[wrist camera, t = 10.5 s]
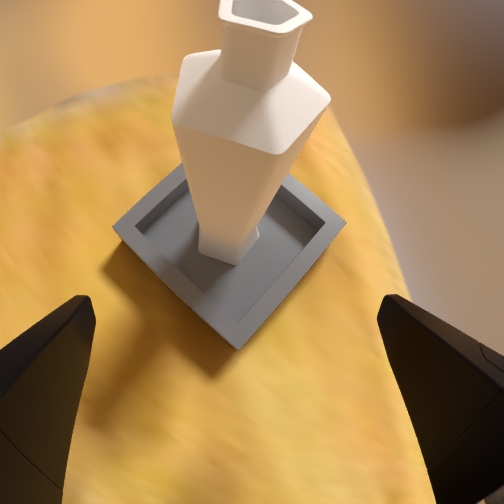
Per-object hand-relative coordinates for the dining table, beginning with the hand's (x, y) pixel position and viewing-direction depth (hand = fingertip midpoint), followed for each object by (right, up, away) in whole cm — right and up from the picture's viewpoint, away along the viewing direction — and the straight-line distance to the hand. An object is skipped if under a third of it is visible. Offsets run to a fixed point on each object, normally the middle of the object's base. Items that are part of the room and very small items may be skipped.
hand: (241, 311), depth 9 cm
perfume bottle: (-1, +3, +11) cm, 11 cm away
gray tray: (-1, +3, +12) cm, 12 cm away
